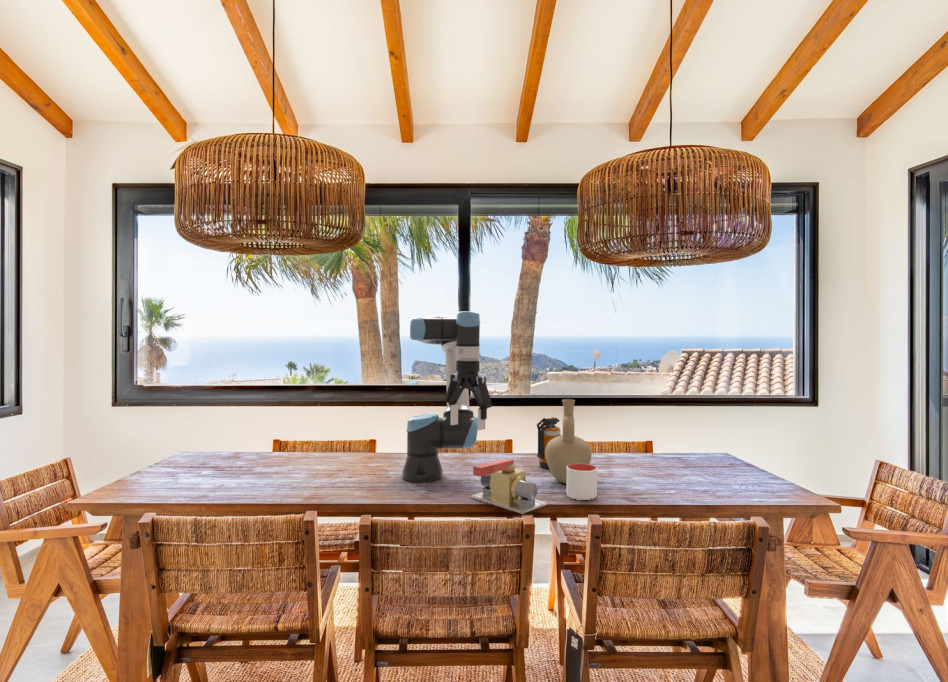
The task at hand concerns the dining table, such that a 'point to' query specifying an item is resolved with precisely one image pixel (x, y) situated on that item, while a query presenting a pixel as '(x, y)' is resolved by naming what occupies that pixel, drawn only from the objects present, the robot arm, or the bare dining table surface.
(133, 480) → the dining table surface
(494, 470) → the lever
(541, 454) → the canister
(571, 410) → the vase
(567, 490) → the cup
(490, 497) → the valve
